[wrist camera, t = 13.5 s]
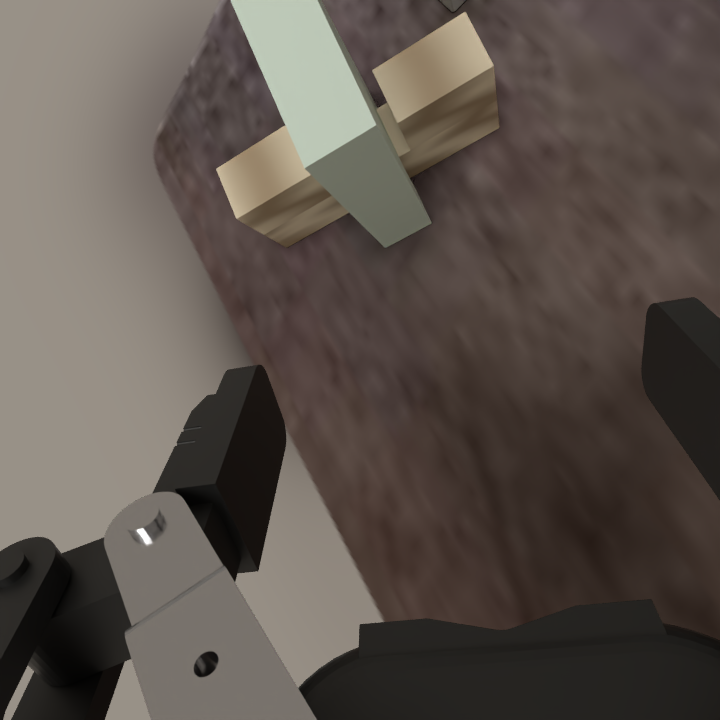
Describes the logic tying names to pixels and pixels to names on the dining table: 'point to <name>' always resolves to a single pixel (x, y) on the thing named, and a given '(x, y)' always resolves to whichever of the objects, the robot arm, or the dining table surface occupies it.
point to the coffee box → (453, 4)
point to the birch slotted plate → (401, 120)
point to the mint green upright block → (332, 115)
